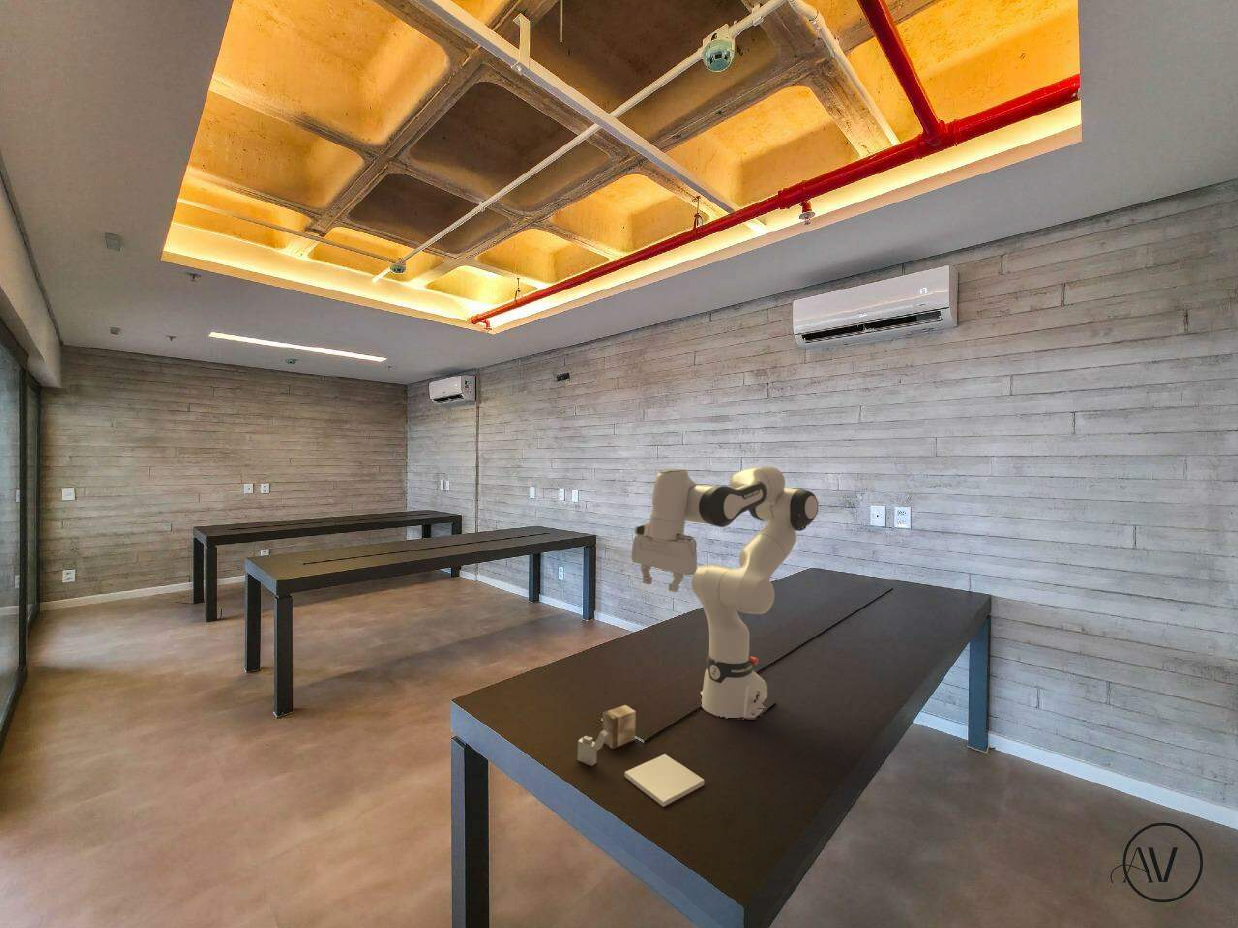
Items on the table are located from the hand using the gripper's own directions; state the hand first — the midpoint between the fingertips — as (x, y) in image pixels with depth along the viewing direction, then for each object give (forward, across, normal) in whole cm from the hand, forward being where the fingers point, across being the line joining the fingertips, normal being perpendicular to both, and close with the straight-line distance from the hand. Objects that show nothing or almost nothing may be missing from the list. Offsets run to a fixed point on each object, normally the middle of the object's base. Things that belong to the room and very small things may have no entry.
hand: (659, 587), depth 127 cm
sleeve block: (+38, +4, +5) cm, 38 cm away
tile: (+38, -14, +7) cm, 41 cm away
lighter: (+39, 0, +15) cm, 42 cm away
